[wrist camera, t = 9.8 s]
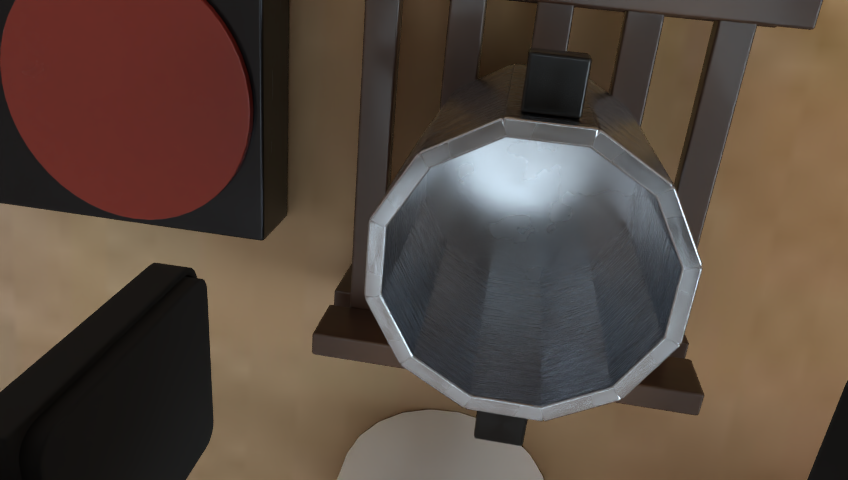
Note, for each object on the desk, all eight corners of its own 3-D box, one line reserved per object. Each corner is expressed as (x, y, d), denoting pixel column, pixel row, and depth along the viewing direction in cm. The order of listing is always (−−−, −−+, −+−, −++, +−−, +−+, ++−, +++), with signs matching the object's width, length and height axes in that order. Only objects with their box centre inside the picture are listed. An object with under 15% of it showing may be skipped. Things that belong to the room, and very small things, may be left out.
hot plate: (252, -33, 20) (248, -33, 20) (254, 232, 23) (251, 235, 23) (-14, -60, 21) (-21, -60, 21) (25, 199, 24) (20, 202, 24)
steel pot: (680, 35, 19) (754, 79, 12) (613, 330, 22) (644, 482, 16) (431, 9, 19) (378, 37, 13) (405, 299, 23) (355, 433, 17)
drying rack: (761, -15, 20) (826, -6, 16) (669, 332, 25) (698, 417, 21) (367, -53, 22) (321, -55, 17) (350, 285, 26) (311, 354, 22)
